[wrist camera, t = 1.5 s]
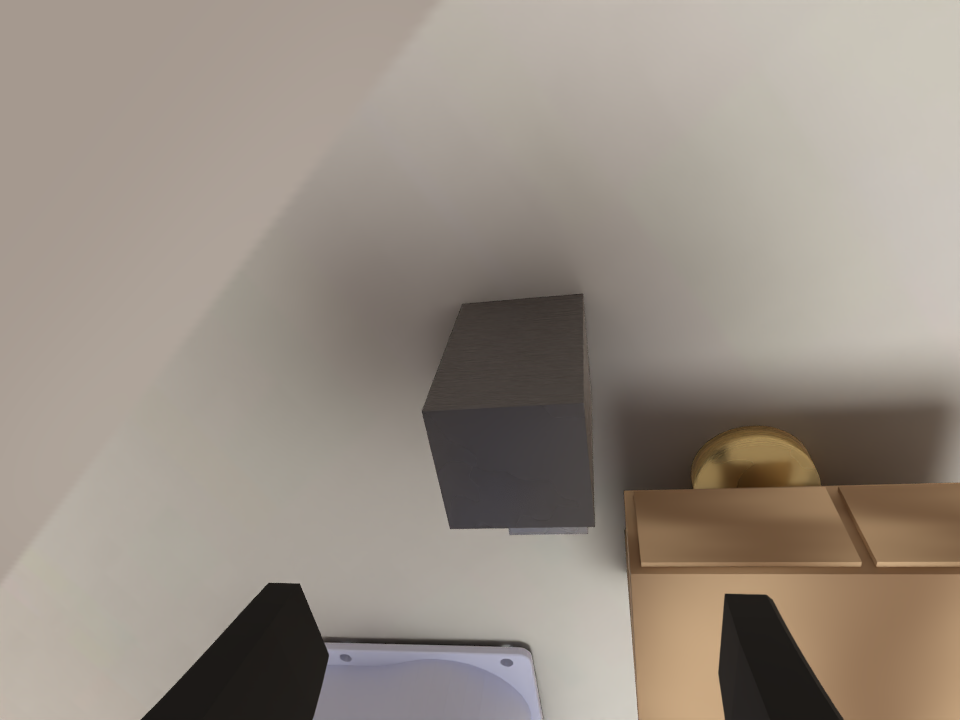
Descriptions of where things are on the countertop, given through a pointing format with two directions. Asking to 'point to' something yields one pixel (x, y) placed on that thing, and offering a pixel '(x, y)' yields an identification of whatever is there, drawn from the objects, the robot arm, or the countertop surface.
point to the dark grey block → (515, 418)
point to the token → (753, 460)
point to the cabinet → (800, 592)
